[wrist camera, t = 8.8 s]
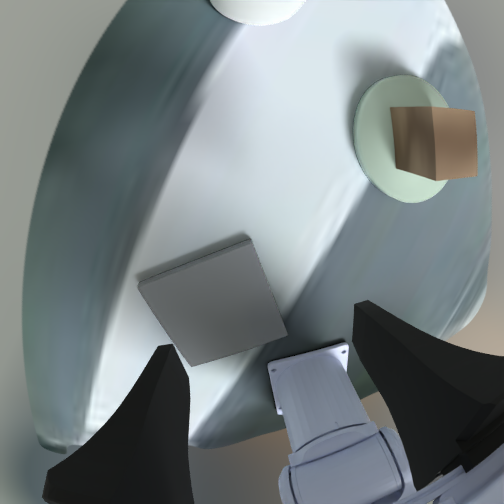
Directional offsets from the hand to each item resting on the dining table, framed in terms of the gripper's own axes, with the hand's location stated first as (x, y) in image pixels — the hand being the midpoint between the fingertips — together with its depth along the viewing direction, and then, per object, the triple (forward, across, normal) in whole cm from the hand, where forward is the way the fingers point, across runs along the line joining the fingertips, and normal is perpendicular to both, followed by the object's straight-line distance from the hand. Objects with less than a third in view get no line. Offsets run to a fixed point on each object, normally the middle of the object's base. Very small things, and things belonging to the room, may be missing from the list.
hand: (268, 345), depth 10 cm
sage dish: (+10, -14, -6) cm, 18 cm away
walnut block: (+9, -14, -6) cm, 18 cm away
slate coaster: (+10, +3, +5) cm, 12 cm away
